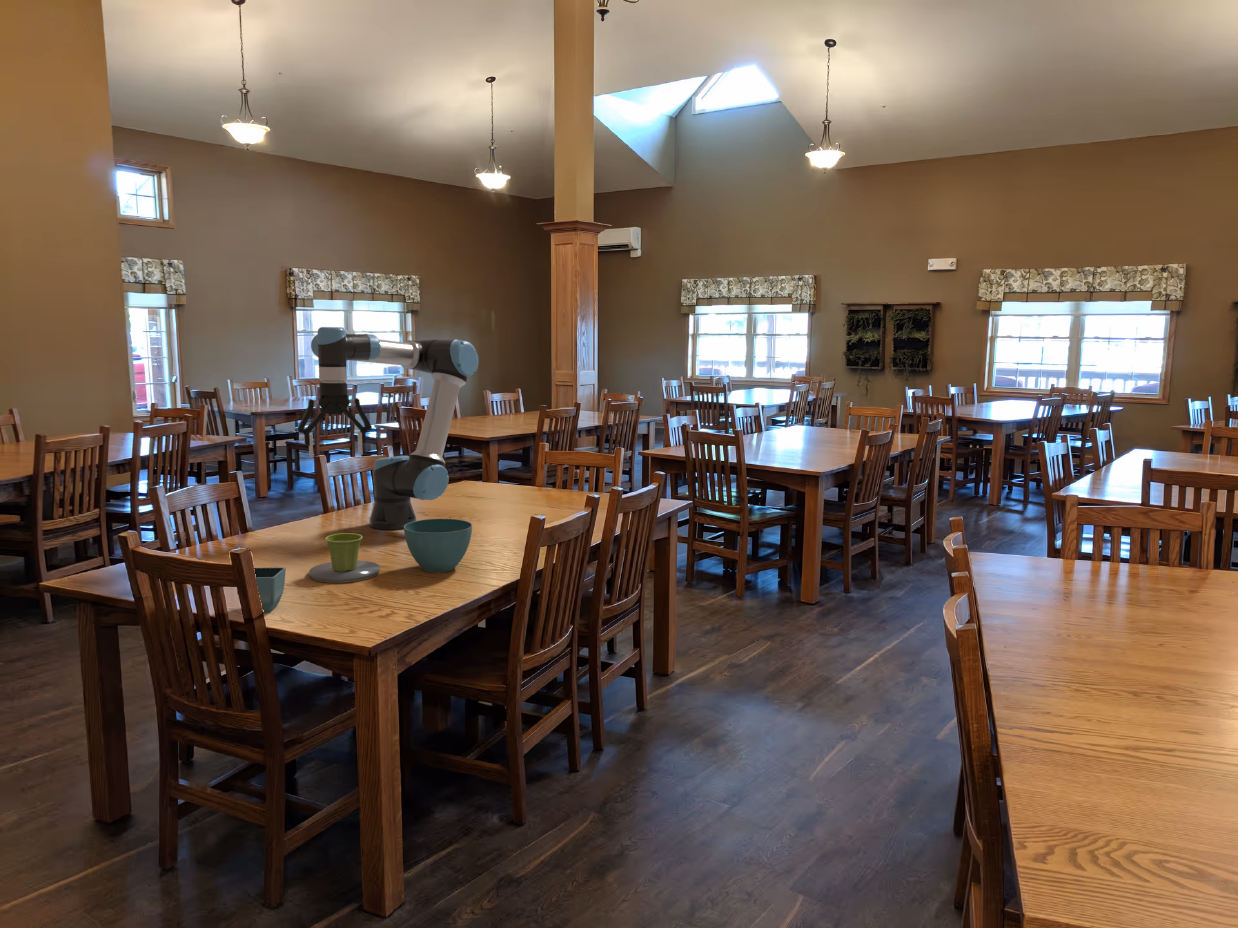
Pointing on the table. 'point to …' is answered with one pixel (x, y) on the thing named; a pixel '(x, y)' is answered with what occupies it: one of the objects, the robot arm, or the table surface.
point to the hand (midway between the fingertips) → (336, 455)
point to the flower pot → (270, 586)
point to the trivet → (331, 576)
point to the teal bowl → (438, 542)
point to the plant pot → (344, 550)
